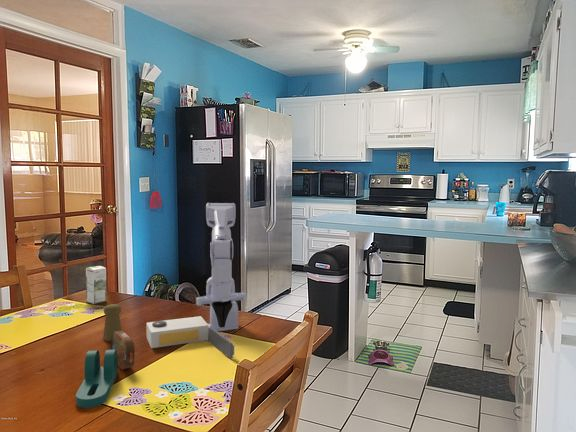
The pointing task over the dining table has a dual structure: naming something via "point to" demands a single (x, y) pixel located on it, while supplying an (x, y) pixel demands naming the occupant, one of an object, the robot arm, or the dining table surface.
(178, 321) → the camera housing
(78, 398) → the bracket
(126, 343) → the brown rounded piece
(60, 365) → the dining table surface
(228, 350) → the side door
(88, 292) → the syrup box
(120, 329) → the olive flared pepper mill
